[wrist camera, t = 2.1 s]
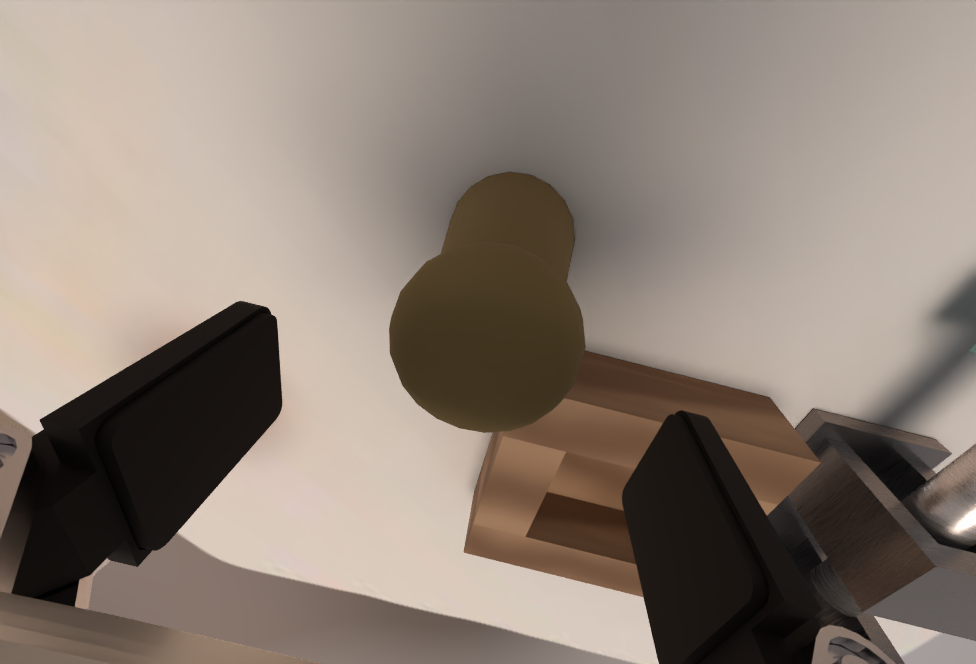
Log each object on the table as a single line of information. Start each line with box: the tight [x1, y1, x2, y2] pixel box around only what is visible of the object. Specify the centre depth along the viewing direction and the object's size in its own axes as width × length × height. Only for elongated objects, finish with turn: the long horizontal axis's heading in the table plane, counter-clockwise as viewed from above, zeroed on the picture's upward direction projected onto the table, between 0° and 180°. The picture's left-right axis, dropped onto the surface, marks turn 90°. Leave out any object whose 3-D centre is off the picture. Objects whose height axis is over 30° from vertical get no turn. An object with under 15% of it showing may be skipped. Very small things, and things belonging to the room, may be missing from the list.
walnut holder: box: [464, 351, 821, 597], centre depth 23 cm, size 14×14×4 cm
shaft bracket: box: [767, 409, 976, 664], centre depth 22 cm, size 16×7×8 cm, turn 167°
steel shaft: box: [810, 344, 976, 617], centre depth 16 cm, size 17×5×5 cm, turn 167°
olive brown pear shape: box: [389, 172, 585, 433], centre depth 14 cm, size 6×6×11 cm
